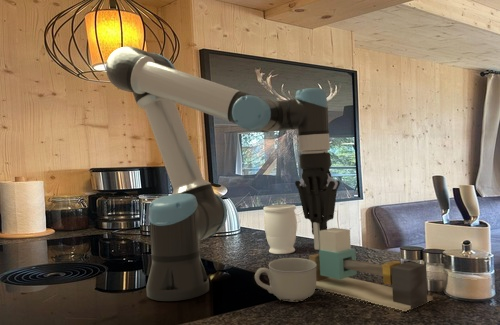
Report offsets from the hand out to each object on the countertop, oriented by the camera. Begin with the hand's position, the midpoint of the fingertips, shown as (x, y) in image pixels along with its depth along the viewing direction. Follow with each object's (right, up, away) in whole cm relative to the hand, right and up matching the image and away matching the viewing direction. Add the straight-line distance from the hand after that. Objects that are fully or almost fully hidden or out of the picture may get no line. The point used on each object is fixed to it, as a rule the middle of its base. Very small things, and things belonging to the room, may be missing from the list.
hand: (320, 248), depth 115 cm
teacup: (-9, -10, -10) cm, 17 cm away
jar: (-7, -8, +38) cm, 40 cm away
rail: (+8, -8, -10) cm, 15 cm away
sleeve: (+4, -5, -4) cm, 8 cm away
